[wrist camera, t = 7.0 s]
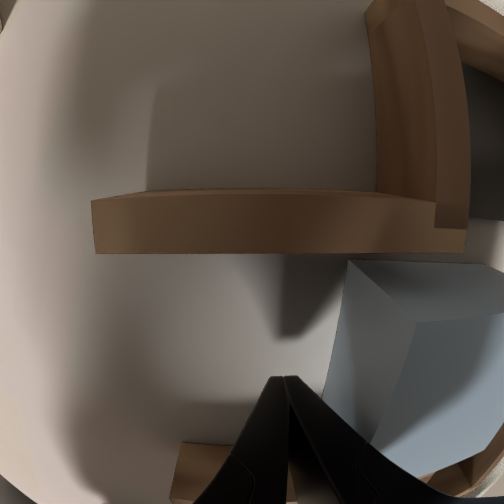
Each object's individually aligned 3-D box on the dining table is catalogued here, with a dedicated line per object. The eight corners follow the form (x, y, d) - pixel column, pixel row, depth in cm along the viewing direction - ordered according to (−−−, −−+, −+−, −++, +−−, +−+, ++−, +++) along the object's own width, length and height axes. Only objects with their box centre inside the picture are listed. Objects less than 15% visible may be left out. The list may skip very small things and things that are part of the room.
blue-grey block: (318, 411, 10) (340, 496, 6) (347, 259, 8) (417, 322, 4) (442, 392, 10) (484, 449, 6) (485, 264, 8) (559, 302, 4)
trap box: (201, 505, 12) (196, 544, 9) (155, 8, 6) (122, -44, 3) (504, 438, 12) (520, 459, 9) (582, 127, 6) (614, 129, 3)
